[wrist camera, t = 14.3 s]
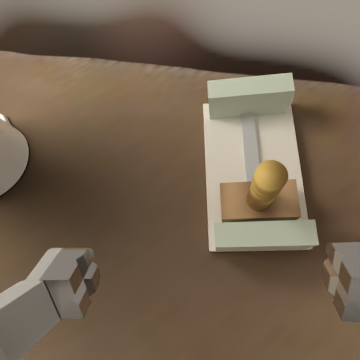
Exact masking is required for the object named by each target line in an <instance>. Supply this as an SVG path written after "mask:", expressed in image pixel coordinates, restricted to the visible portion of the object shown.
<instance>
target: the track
mask: <svg viewBox="0 0 360 360" xmlns="http://www.w3.org/2000/svg"><path fill="white" fill-rule="evenodd" d="M207 84H208V102H209V104H203V114H204V138H205V163H206V187H207V212H208V236H209V252H227V251H277V250H310V249H313V248H312V247H314V246H318V245H319V241H318V235H317V229H316V222H315V219H314V220H308V215H307V208H306V201H305V195H304V188H303V181H302V175H301V168H300V161H299V155H298V148H297V141H296V135H295V128H294V121H293V115H292V108H291V103H292V102H293V99H294V91H295V89H294V82H293V77H292V73H285V74H284V73H283V74H274V75H263V76H252V77H242V78H232V79H221V80H211V81H207ZM266 160H275V161H278V162H280V163H282V164H283V165H284V166H285V167H286V169H287V171H288V180H289V179H296V183H297V190H298V197H299V204H300V211H301V217H300V218H298V219H297V220H284V221H254V222H224V223H222V217H221V199H220V183H230V182H249V181H252V179H253V176H254V173H255V170H256V168H257V166H258V165H259V164H260V163H262V162H263V161H266Z"/></svg>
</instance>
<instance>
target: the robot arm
mask: <svg viewBox="0 0 360 360" xmlns="http://www.w3.org/2000/svg"><path fill="white" fill-rule="evenodd" d="M28 156H29V148H28V143H27V141H26V139H25V137H24V135H23V134H22V133H21V132H20V131H19V130H17V129H15V128H14V127H13V126H11V124H10V122H9V120H8V118H7V117H6V116H4V115H2V114H0V195H2V194H3V193H5V192H6V191H7V190H9V189H10V188H11V187H12V186H13V185H14V184H15V183H16V182H17V181H18V180H19V178H20V177H21V175H22V174H23V172H24V170H25V168H26V165H27V162H28ZM325 253H326V255H327V257H328V258H327V259H326V260H325V261H324V262H323V269H322V271H323V279H324V283H325V286H326V288H327V290H328V292H330V293H331V294H332V295H334V301H333V303H334V306H335V308H336V310H337V312H338V314H339V316H340V318H341V321H343V322H360V241H352V242H328V243H327V245H326V248H325ZM94 257H95V256H94V253H93V250H92V249H91V248H51V249H49V250H47V252H46V253H45V254H44V256H43V257H42V258H41V260H40V261H39V262H38V264H37V265H36V266H35V268H34V269H33V270H32V272H31V273H30V274H29V276H28V277H27V278H26V280H25V281H20V282H18V283H16V284H15V285H13V286H12V287H10V288H8V289H7V290H5V291H4V292H2V293H0V360H20V359H21V358H22V357H23V356H24V355H25V354H26V353H27V352H28V351H29V350H30V349H31V348H32V347H33V346H34V345H35V344H37V343H38V342H39V341H40V340H41V339H42V338H43V337H44V336H45V335H46V334H47V333H48V332H49V331H50V330H51V329H52V328H53V327H54V326H55V325H56V324H57V323H58V322H59V321H60V319H84V317H85V315H86V313H87V310H88V308H89V306H90V304H91V300H90V296H91V295H92V294H94V293H95V292H96V290H97V287H98V285H99V278H100V274H99V268H98V265H96V264H95V263H94V262H93V259H94Z"/></svg>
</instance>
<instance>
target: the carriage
mask: <svg viewBox="0 0 360 360" xmlns="http://www.w3.org/2000/svg"><path fill="white" fill-rule="evenodd" d="M220 199H221V217H222V223H224V222H254V221H284V220H297V219H298V218H300V217H301V211H300V204H299V197H298V190H297V183H296V179H289V180H288V171H287V169H286V167H285V166H284V165H283V164H282V163H280V162H278V161H275V160H266V161H263V162H262V163H260V164H259V165H258V166H257V168H256V170H255V173H254V176H253V179H252V181H249V182H230V183H220Z"/></svg>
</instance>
